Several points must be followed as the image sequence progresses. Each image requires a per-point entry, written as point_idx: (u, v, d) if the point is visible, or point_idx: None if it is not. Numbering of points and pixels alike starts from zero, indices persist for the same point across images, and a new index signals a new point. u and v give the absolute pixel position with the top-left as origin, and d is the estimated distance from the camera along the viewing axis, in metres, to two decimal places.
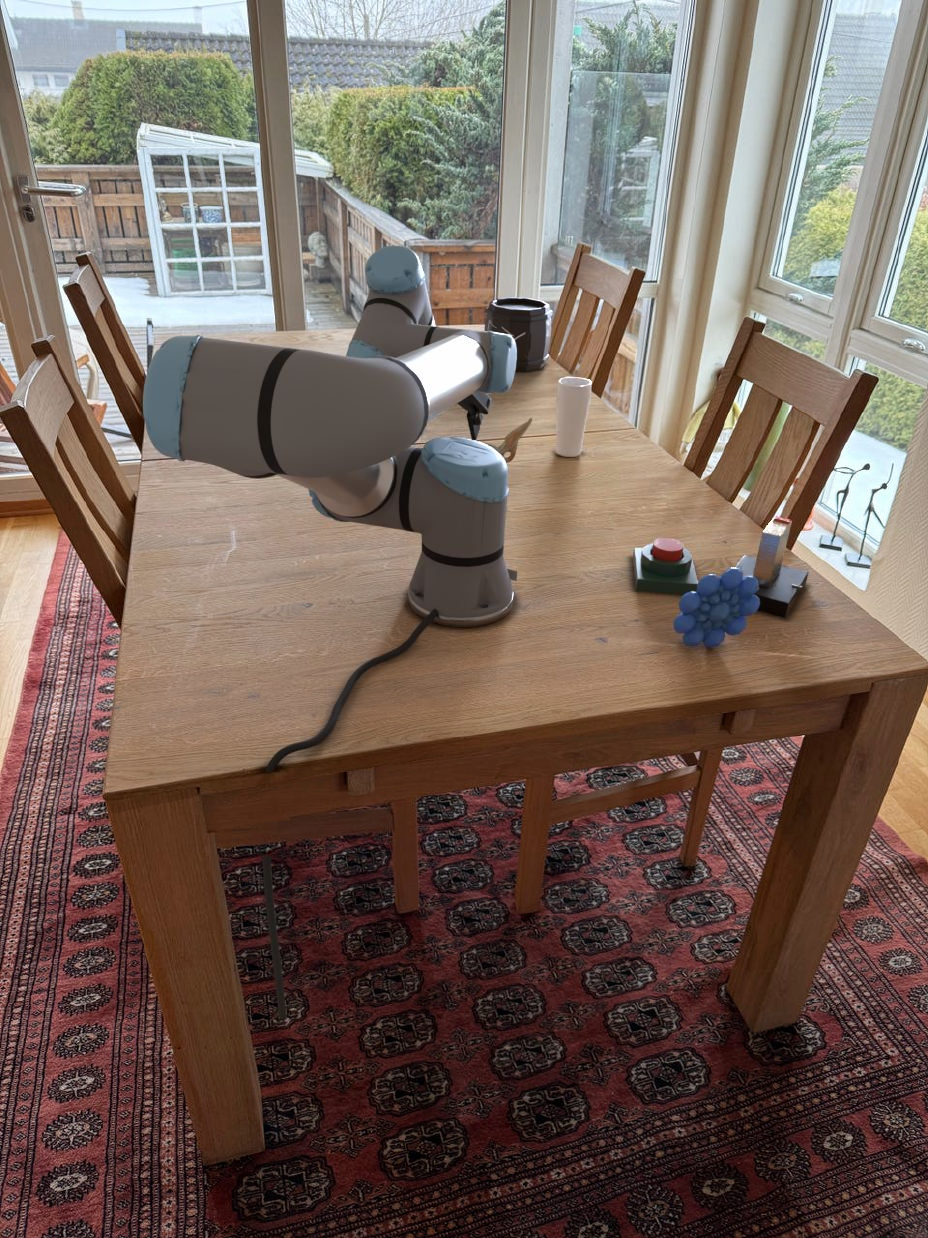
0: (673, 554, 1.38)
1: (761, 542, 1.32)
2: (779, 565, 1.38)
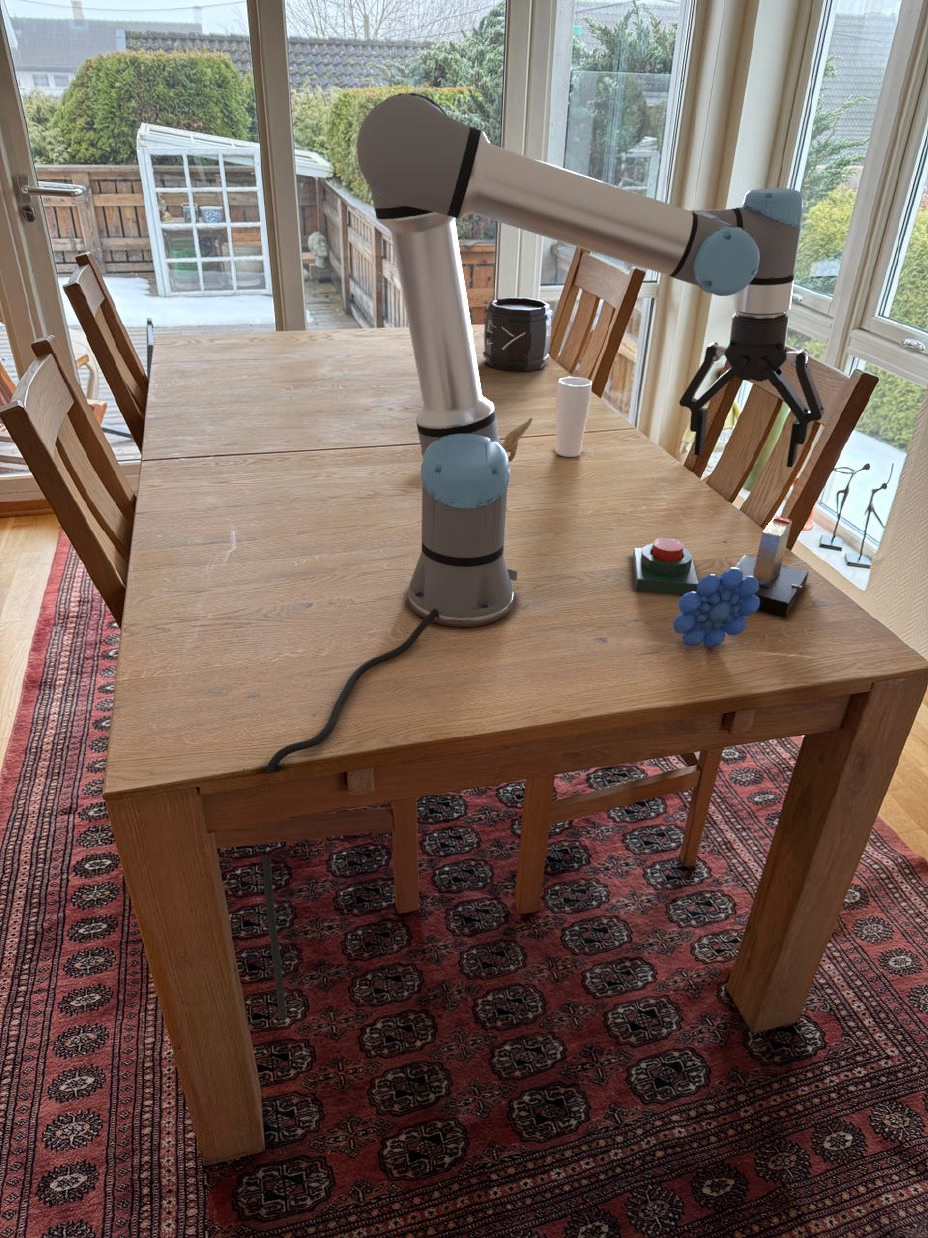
0: (673, 554, 1.38)
1: (761, 542, 1.32)
2: (779, 565, 1.38)
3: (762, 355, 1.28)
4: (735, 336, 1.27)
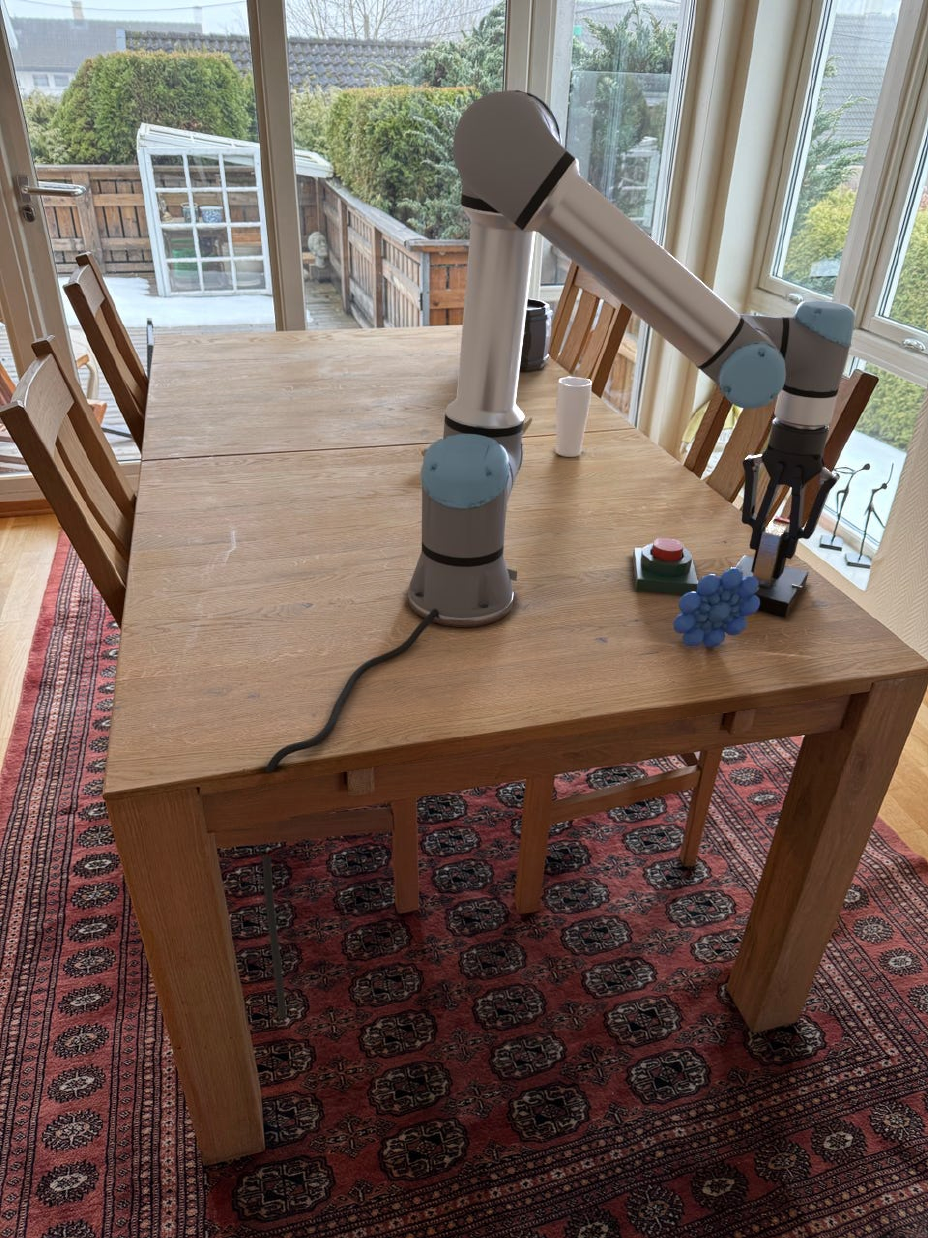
0: (673, 554, 1.38)
1: (761, 542, 1.32)
2: None
3: (803, 457, 1.26)
4: (773, 442, 1.26)
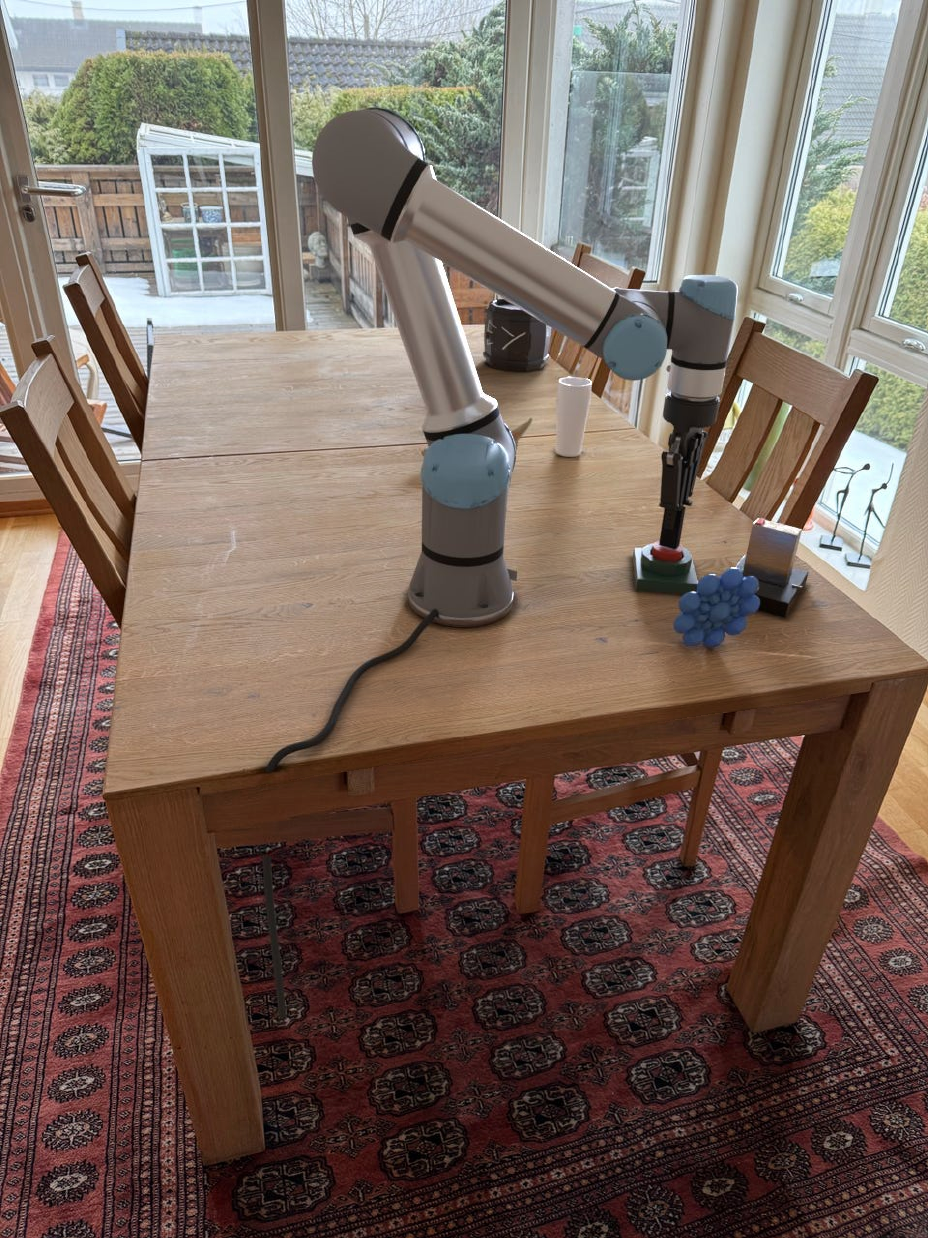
0: (672, 557, 1.38)
1: (795, 544, 1.32)
2: None
3: None
4: (702, 421, 1.26)
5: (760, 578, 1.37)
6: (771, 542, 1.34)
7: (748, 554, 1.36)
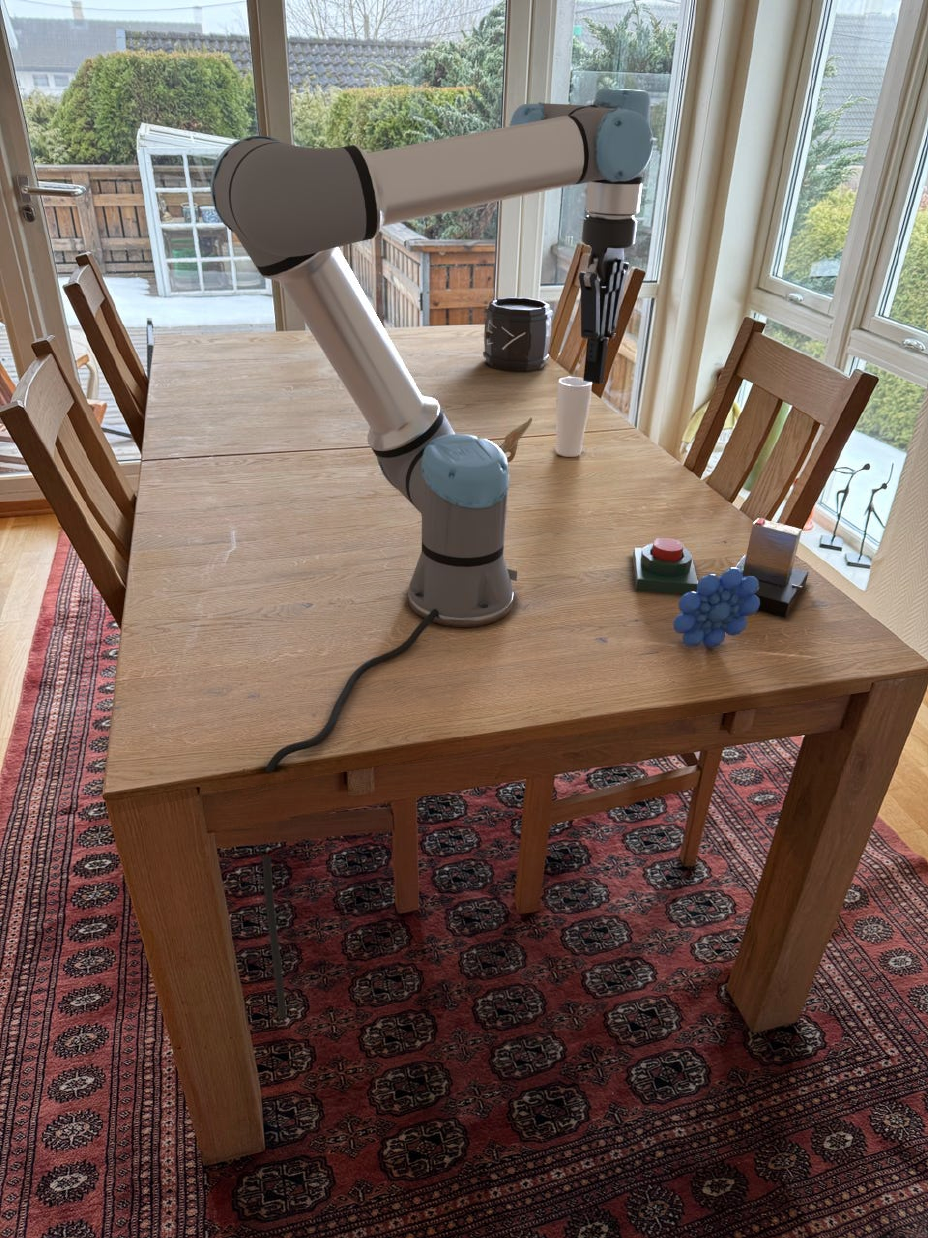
0: (673, 554, 1.38)
1: (795, 544, 1.32)
2: None
3: (619, 247, 1.32)
4: (619, 240, 1.27)
5: (760, 578, 1.37)
6: (771, 542, 1.34)
7: (748, 554, 1.36)
